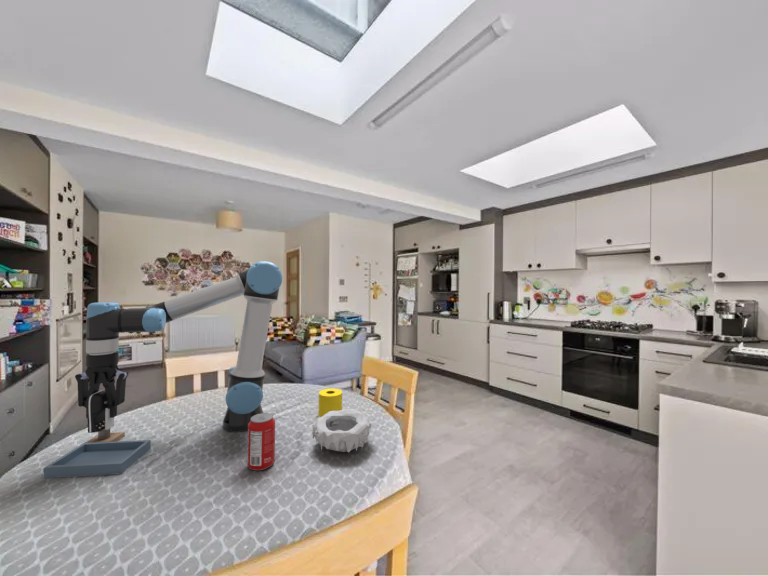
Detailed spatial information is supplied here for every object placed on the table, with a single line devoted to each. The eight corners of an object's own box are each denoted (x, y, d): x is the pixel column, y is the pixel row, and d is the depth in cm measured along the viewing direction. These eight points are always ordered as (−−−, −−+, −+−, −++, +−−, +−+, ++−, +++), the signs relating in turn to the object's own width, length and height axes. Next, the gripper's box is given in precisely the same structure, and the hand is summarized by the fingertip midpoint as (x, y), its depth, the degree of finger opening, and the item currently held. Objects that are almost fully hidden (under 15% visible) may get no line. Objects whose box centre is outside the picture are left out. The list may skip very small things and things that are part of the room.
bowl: (381, 440, 114) (382, 412, 114) (353, 469, 95) (353, 437, 95) (333, 428, 123) (334, 402, 123) (299, 453, 104) (299, 423, 104)
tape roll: (346, 412, 138) (346, 391, 138) (331, 420, 129) (331, 398, 129) (329, 407, 143) (329, 387, 143) (313, 415, 135) (313, 393, 135)
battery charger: (100, 433, 94) (100, 395, 94) (86, 434, 93) (85, 396, 93) (117, 423, 101) (116, 387, 101) (104, 423, 100) (103, 388, 100)
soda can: (248, 475, 92) (249, 424, 91) (246, 461, 99) (247, 414, 98) (276, 468, 95) (277, 419, 95) (272, 456, 102) (273, 410, 102)
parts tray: (150, 448, 105) (150, 439, 105) (121, 473, 91) (121, 463, 91) (83, 452, 103) (83, 443, 102) (43, 478, 89) (43, 467, 89)
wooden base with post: (124, 436, 113) (124, 412, 113) (108, 447, 105) (108, 422, 105) (100, 437, 112) (100, 413, 112) (81, 449, 104) (82, 423, 104)
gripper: (140, 349, 102) (139, 421, 102) (81, 350, 99) (80, 423, 99) (124, 354, 94) (123, 432, 94) (61, 355, 92) (59, 434, 92)
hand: (101, 427), depth 97 cm, fingers closed on battery charger, 4 cm apart
